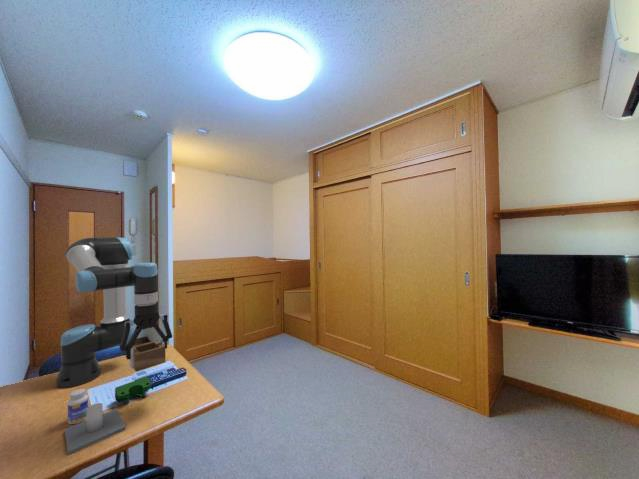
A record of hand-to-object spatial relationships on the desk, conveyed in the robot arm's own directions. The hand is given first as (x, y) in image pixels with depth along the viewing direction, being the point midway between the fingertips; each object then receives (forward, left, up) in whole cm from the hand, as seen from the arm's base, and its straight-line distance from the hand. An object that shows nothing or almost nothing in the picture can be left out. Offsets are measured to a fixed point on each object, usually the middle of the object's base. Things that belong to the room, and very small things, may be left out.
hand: (147, 362), depth 101 cm
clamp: (-10, -3, -17) cm, 20 cm away
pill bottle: (-10, -19, -17) cm, 27 cm away
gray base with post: (+2, -16, -16) cm, 23 cm away
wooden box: (0, 0, 0) cm, 0 cm away
